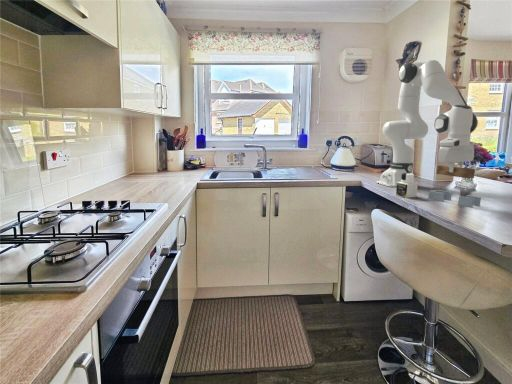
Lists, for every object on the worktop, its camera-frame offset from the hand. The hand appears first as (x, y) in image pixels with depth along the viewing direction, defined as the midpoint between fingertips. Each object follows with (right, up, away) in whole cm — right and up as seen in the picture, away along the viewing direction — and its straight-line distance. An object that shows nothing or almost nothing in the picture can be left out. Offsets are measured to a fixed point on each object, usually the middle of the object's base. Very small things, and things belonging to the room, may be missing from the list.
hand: (454, 171), depth 154 cm
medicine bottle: (-14, -12, +19) cm, 26 cm away
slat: (0, -2, 0) cm, 2 cm away
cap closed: (-1, -13, +11) cm, 17 cm away
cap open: (+6, -15, -2) cm, 16 cm away
